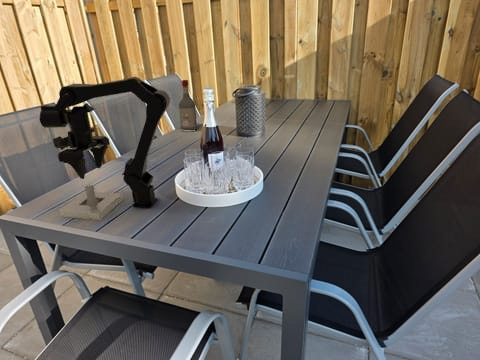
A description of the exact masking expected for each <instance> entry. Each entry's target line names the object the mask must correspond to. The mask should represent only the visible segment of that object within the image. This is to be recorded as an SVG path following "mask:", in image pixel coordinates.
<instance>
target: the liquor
mask: <svg viewBox="0 0 480 360" xmlns="http://www.w3.org/2000/svg"><path fill="white" fill-rule="evenodd" d="M181 85H182V93H183V94H182V98H181V100H180V101H179V103H178V111H179V123H180V130H181V129H183V130H194V129H196V128H198V124H197V112H196V111H197V110H196V102H195V101H194V99H192V98H191V96H190V91H189V87H190V86H189V80H188V79H182V80H181ZM196 130H197V129H196Z"/></svg>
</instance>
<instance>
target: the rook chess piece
mask: <svg viewBox="0 0 480 360" xmlns="http://www.w3.org/2000/svg"><path fill="white" fill-rule="evenodd" d="M83 191H84V192H86V195H87V204H86V206H96V205H97V204H98V203H100V202H99V201H98V200H97V199H96V196H95V192H96V191H95V187H94V185H92V184H88V185H85V187H84V190H83Z"/></svg>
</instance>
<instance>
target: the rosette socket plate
mask: <svg viewBox="0 0 480 360" xmlns="http://www.w3.org/2000/svg"><path fill="white" fill-rule="evenodd" d="M94 192H95V196H96V199H97V200H98V201H99V202H100V203H98V204H97V205H96V206H86V204H87V195H86V192H85V191H84V192H83V193H82V194H80V195H78V196H77V197H76V198H74V199H73V200H71V201H70V202H68V203H67V204H66V205H63V207H61V208H60V209H59V214H60V217H61V218H62V217H63V218H72V219H83V220H84V219H85V220H94V221H101V220H102V219H103V218H104V217H106V216H107V215H108V214H109V213H110V212H111V211H113V209H115V208H116V207H117V206H118V205H119V204H121V203H122V202H123V201H124V197H123V193H120V192H119V193H117V192H116V193H115V192H106V191H104V192H103V191H94Z"/></svg>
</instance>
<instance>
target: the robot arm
mask: <svg viewBox="0 0 480 360" xmlns="http://www.w3.org/2000/svg"><path fill="white" fill-rule="evenodd" d="M125 93H132V94H133V95H135V97H137V99H139V100H140V101H141V102H143V103H144V104H146V109H145V123H144V124H143V128H142V132H141V135H140V137H139V140H138V144H137V148H136V150H135V152H134V153H135V154H134V157H130V158H129V159H128V160H127V161H126V163H125V165H124V171H123V173H122V174H121V176H123V182H124V183H125V184H126V185H127V186H128V187H129V189H130V190H131V195H132V202H133V203H132V207H135V208H147V209H149V208H151V207H152V206H153V205H154V204H155V203H156V202H157V201H158V198H157V197H156V195H155V189H154V185H152V183H153V180H154V176H153V175H152V174H151V173H150V172H148V171H147V167H148V163H147V161H148V156H149V155H150V154H149V153H150V151H151V148H152V145H153V142H154V138H155V135H156V132H157V130H158V127H159V124H160V121H161V120H162V117H163V115H164V114H165V113H166V111H167V109H168V107H169V106H170V103H171V98H170V96H169V94H168V92H166V91H165V90H161V89H160V90H159V89H157V87H154V86H153V85H150V84H149V83H147V82H145V81H143V80H142V79H140V77H137V76H131V77H129V78H125V79H117V80H114V81H113V80H112V81H107V82H101V83H100V82H99V83H72V84H69V85H65V86H62V87H60V90H59V91H58V95H59V98H58V100H57V102H56V103H55V104H53V105H49V104H43V105H41V106H40V109H41V110H40V112H39V123H40V124H41V126H42V128H45V129H49V128H53V129H55V128H66V127H67V125H69V128H70V130H69V131H67V136H65V137H62V136H61V135H60V136H57V137H55V138H52V143H53V146H54V147H55V148H56V149H60V152H58V154H57V159H58V162H59V163H63V164H68V165H70V167H71V168H72V169H73V170H74V172H76V174H77V176H78V177H79V178H80V179H81V180H84V179H85V176H86V158H84V157H85V154H84V153H86V152H87V151H90V152H91V153H92V156H93V159H94V162H95V166H96V168H97V169H101V168H102V165H103V162H104V158H105V155H106V152H107V149H108V148H109V145H111V144H110V138H108V137H107V136H105V135H93V132H95V128H94V127H92V126H91V121H90V118H89V113H91V112H93V111H95V108H94V107H93V106H91V105H89V103H84V102H87V101H90V100H93V99H97V98H102V97H109V96H114V95H121V94H125ZM82 103H84V104H83V105H81V106H78V105H79V104H82ZM71 107H72V108H71ZM68 108H70V109H68ZM65 148H66V149H65Z"/></svg>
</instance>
